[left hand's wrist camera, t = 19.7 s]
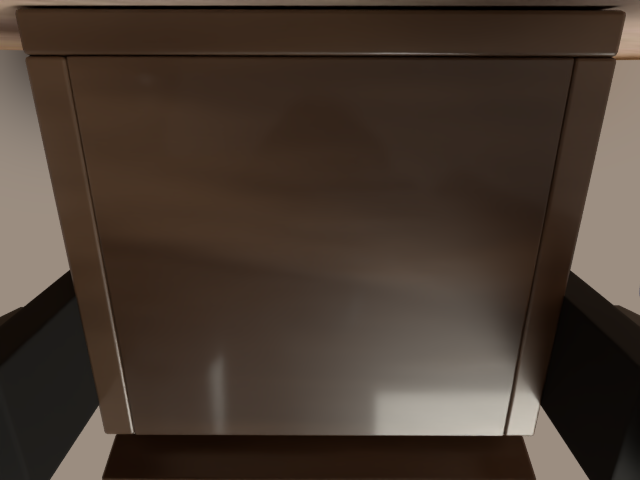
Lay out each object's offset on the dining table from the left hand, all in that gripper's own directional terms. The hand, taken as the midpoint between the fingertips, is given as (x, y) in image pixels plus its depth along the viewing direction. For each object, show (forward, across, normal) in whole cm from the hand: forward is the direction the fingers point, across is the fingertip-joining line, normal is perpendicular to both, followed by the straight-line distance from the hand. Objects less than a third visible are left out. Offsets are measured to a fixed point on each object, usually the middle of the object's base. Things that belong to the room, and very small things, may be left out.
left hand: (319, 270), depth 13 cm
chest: (+3, 0, -6) cm, 7 cm away
